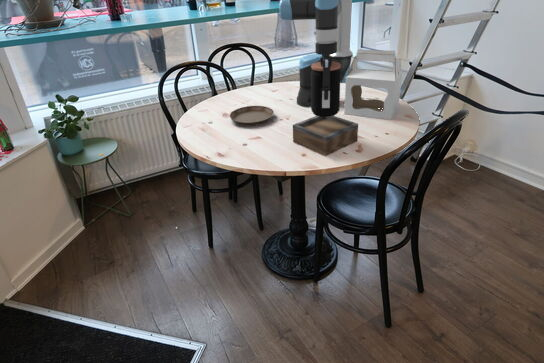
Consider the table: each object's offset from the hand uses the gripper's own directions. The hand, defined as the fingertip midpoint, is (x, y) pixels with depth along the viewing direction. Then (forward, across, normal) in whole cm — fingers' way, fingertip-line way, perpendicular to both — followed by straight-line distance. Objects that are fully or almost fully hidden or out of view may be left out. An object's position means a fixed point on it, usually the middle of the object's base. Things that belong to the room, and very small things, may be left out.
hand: (325, 102), depth 142 cm
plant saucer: (+17, -26, -33) cm, 46 cm away
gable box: (+16, -32, +22) cm, 43 cm away
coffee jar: (+4, 0, 0) cm, 4 cm away
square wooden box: (+16, 0, 0) cm, 16 cm away
